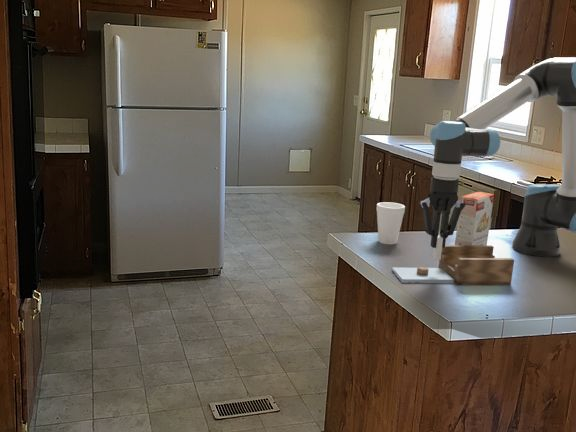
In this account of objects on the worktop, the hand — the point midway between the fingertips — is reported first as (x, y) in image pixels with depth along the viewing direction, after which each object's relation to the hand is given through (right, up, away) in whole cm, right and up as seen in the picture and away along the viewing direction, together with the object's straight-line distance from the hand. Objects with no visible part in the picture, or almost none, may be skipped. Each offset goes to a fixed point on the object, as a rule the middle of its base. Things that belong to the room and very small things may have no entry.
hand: (436, 258), depth 173 cm
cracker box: (+16, -2, +21) cm, 27 cm away
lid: (-4, -6, +1) cm, 7 cm away
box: (+12, -6, +3) cm, 13 cm away
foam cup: (-8, +3, +36) cm, 37 cm away
